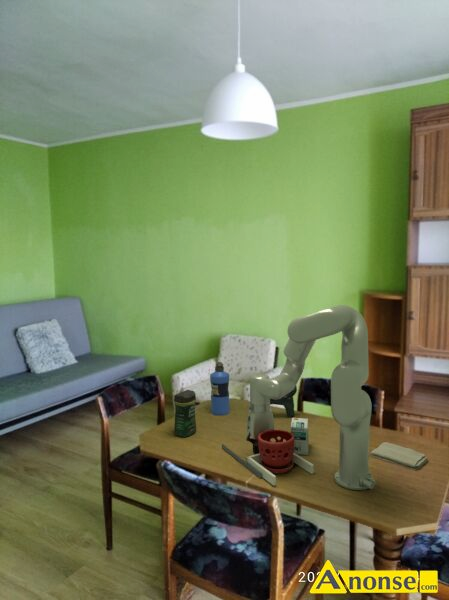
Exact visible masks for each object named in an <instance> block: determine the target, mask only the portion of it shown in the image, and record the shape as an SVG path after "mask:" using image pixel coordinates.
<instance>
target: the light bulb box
mask: <svg viewBox="0 0 449 600" xmlns="http://www.w3.org/2000/svg"><path fill="white" fill-rule="evenodd" d="M290 433H292V434H293V435H294V441H295V445H294V453H295V454H297V455H305V456H308V455H309V418H303V417H300V418H299V417H294V418H291V423H290Z"/></svg>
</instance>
